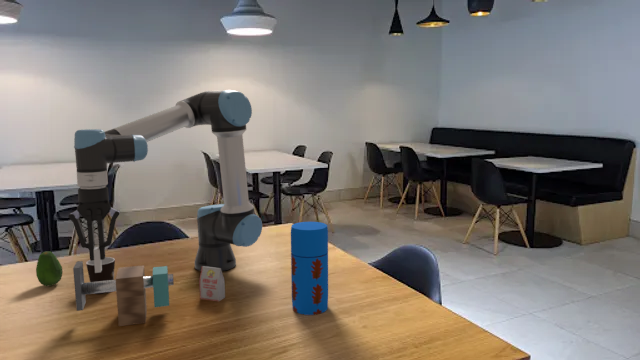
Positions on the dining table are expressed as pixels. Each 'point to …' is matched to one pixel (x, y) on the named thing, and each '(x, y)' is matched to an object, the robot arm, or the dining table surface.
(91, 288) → the shaft
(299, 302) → the thermos
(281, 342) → the dining table surface
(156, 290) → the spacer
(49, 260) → the avocado
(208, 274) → the white paper food packet
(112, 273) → the coffee mug
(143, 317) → the bearing block
